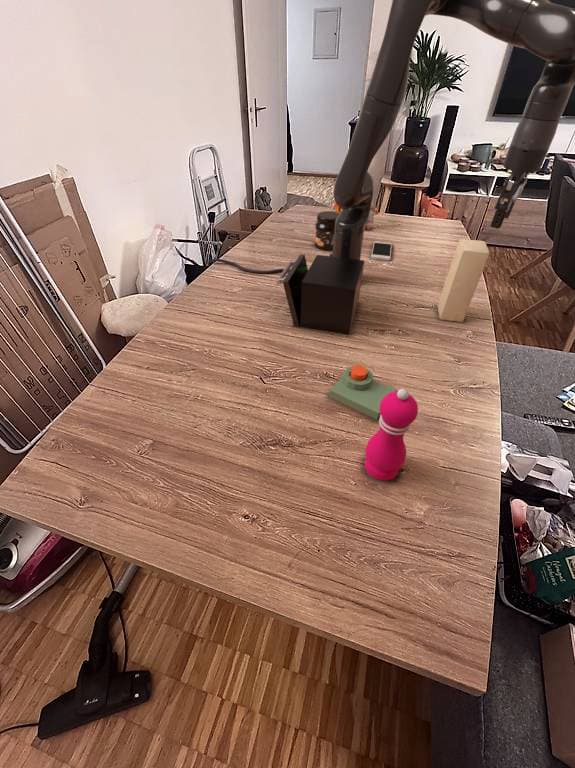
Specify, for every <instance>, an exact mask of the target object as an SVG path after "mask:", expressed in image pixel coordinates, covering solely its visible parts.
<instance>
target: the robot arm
mask: <svg viewBox="0 0 575 768" xmlns="http://www.w3.org/2000/svg"><path fill="white" fill-rule="evenodd" d="M430 15H431V16H440V17H449V18H453V19H457V20H460V21H462V22H464V23H467V24H469V25H471V26H472V27H474V28H476V29H477V30H479V31H480V32H483V34H486V35H488V36H490V37H492V38H494V39H496V40H498V41H501V42H504V43H505V44H508V45H511V46H513V47H516V48H520V49H525V50H527V51H528V52H530V53H531V54H534V55H535V56H537V57H539V58H541V59H543V60H544V61H546V62H545V65H544V67H543V70H542V72H541V76H540V78H539V79H538V81H537V82H536V84H535V85H534V86H533V88H532V89H531V92H530V94H529V96H528V99H527V101H526V104H525V107H524V110H523V112H522V115H521V117H520V121H519V123H518V124H517V126H516V128H515V131H514V134H513V136H512V139H511V141H510V145H509V147H508V149H507V153H506V155H505V158H504V160H503V164H502V166H503V168H504V169H505V170H508V171H511V173H510V175H508V177H506V178H505V180H504V181H503V186H502V189H501V191H500V193H499V195H498V199H497V201H496V204H495V206H494V210H495V212H494V215H493V217H492V220H491V222H490V227H491V228H494V229H500V228H501V227H502V226H503V222H504V220H505V219H508V218H509V217H510V216H511V213H512V211H513V208H514V206H515V203H516V202H517V201H518V200H519V198H520V196H521V194H522V193H523V189H524V187H525V185H526V184H527V181H528V175H529V174H533V173H534V174H535V173H537V172H539V171H541V169H542V166H543V164H544V161H545V159H546V157H547V154H548V152H549V150H550V147H551V144H552V143H553V140H554V139H555V136H556V133H557V130H558V127H559V123H560V121H561V118H562V116H563V113H564V111H565V109H566V106H567V104H568V101H569V99H570V96H571V94H572V91H573V88H574V86H575V8H572V7H569V6H565V5H561V4H557V3H553V2H551V1H550V0H392V1H391V7H390V10H389V14H388V19H387V23H386V27H385V31H384V34H383V39H382V42H381V46H380V49H379V52H378V54H377V57H376V61H375V63H374V68H373V71H372V74H371V78H370V80H369V84H368V86H367V89H366V91H365V95H364V99H363V101H362V104H361V109H360V112H359V115H358V119H357V121H356V125H355V128H354V130H353V134H352V137H351V141H350V144H349V147H348V150H347V153H346V156H345V158H344V160H343V163H342V165H341V168H340V170H339V172H338V175H337V177H336V179H335V182H334V186H333V199H334V202H335V204H337V205H338V206H339V207H340V208H342V211H341V213H340V214H339V216H338V217H337V219H336V222H335V232H334V243H333V250H331V251H330V252H329V256H331V257H339V258H347V259H355V260H361V257H362V251H363V250H362V249H363V243H364V236H365V230H366V229H365V226H366V225H367V224H366V222H367V220H368V218H369V214H370V208H371V203H373V198H374V191H375V190H374V189H375V188H374V187H375V185H374V179H373V177H372V175H371V174H370V173H369V172H368V171H369V168H370V166H371V164H372V161H373V159H374V158H375V156H376V154H377V153H378V151H380V149H381V147H382V145H383V144H384V143H385V142H386V139H387V138H388V137H389V134H390V133H391V131H392V129H393V128H394V125H395V123H396V121H397V119H398V116H399V113H400V111H401V108H402V105H403V103H404V99H405V96H406V93H407V88H408V81H409V74H410V73H409V72H410V63H411V58H412V52H413V49H414V45H415V43H416V39H417V36H418V34H419V31H420V29H421V26H422V24H423V21H424V19H425V17H426V16H430ZM214 262H219V263H224V264H228V265H231V266H234V267H236V268H238V269H239V270H241V271H244V272H247V273H252V274H262V275H263V274H264V275H265V274H274V273H282V272H283V270H284V269H285V268H277V269H271V270H257V269H250V268H246V267H243V266H241V265H239V264H238V263H236V262H233V261H230V260H226V259H222V258H213V259H210V260H208V261H207V263H206V264H207V265H211V264H212V263H214ZM290 270H291V268H290V269H289V271H290ZM289 271H288V272H287V273H289Z"/></svg>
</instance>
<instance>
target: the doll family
mask: <svg viewBox="0 0 575 768" xmlns="http://www.w3.org/2000/svg"><path fill="white" fill-rule="evenodd" d="M331 211H334V212H338V213H341V211H342V208H340V207H339V206H338V205H337V204H336V203H335V204H333V205H332V207H331ZM379 214H380V212H379V210H378V208H377V206H375V205H374V202H372V203H371V208H370V214H369V218H368V220H367V222H366V225H367V226H366V225H365V230H367V231H371V230H372V228H371V227H372V225H373V224H374V221H375V219H374V218H375V217H374V216H377V215H379Z"/></svg>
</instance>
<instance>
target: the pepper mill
mask: <svg viewBox="0 0 575 768" xmlns="http://www.w3.org/2000/svg"><path fill="white" fill-rule="evenodd" d="M379 409H380V414H381V415H380V417H379V418H378V424H379V426H380V427H379V429H378V430H377V432H376V433H374V434H373V435H372V436H371V437H370V438H369V440H368V441H367V444H366V445H365V450H364V451H365V462H364V467H365V470H366V472H367V473H368V474H369V475H370V476H371V477H372V478H373V479H376V480H378V481H391V480H393V479H395V477H397V475H398V473H399V470H400V468H401V467H403V466H404V464H405V462H406V458H407V447H406V444H405V441H404V436H405V435H406V433H407V432H409V430H410V428H411V425H412V424H413V423H414V421H416V419H417V417H418V413H419V406H418V403H417V400H416V399H415V398H414V397H413V396H412V395H411V394H410V393H409V391H408V390H407V389H406V388H400V389H398V390H396V391H394V392H390V393H388V394H387V395H385V397H384V398H383V399H382V401H381V403H380V408H379Z"/></svg>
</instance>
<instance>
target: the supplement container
mask: <svg viewBox="0 0 575 768" xmlns="http://www.w3.org/2000/svg"><path fill="white" fill-rule="evenodd" d="M339 214H340V213H338V212H336V211H335V210H323V211H320V212H318V213H317V214H316V221H315V223H314V224H315V225H314V242H313V243H314V246H315V247H316V248H317V249H319V250H321V251H333V243H334V232H335V222H336V219H337V217H338V216H339Z"/></svg>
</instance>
